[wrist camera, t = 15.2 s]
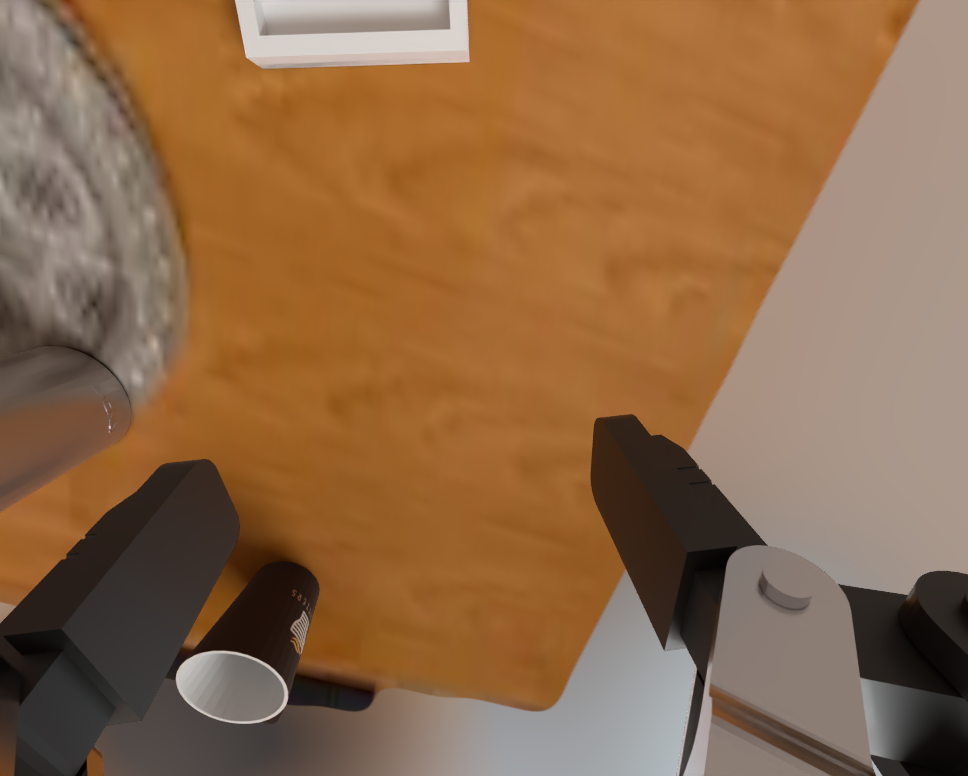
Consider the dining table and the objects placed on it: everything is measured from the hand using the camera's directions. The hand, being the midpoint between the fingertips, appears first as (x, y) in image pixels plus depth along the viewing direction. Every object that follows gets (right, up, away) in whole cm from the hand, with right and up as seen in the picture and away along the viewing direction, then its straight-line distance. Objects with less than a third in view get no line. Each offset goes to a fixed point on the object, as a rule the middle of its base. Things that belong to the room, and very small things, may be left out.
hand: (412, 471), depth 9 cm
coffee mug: (-19, -19, +34) cm, 43 cm away
